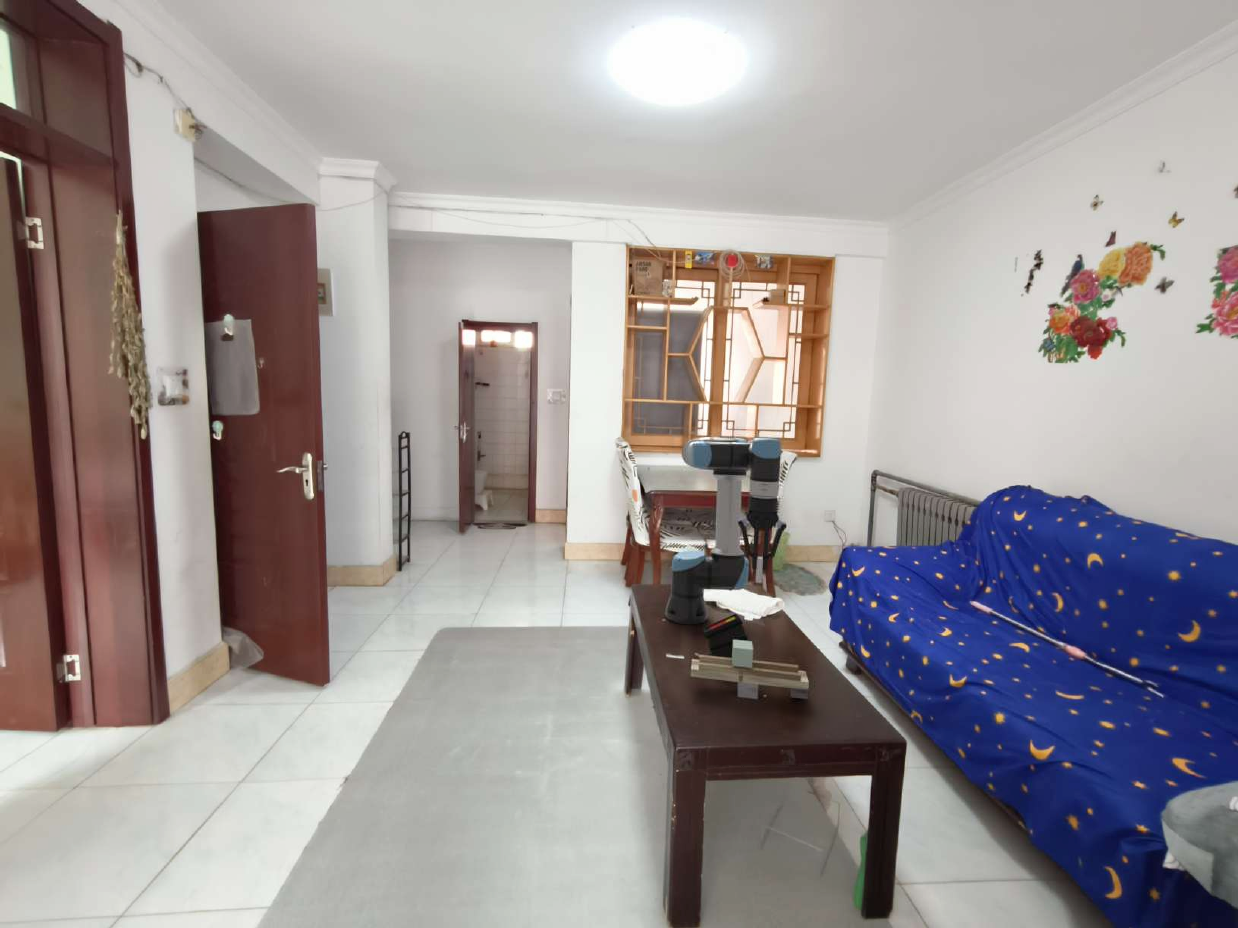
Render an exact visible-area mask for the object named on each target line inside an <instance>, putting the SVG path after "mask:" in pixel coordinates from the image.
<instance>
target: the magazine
mask: <svg viewBox="0 0 1238 928" xmlns="http://www.w3.org/2000/svg"><path fill="white" fill-rule="evenodd" d="M702 629H703V635H704V636H705V638H706V640H708V643H707V647H708V648H709V652H710V653H708V656H717V657H727V658H732V650H733V640H742V641H749V638H748V636H747V634H746V633H745V628H744V626H743V621H742V619H741V618H740V616H739V615H738V614H737V613H733V614H731V615H729V616H728V617H725V618H722V619H721V620H719V621H716V622H714V623H712V624H709V625H707V626H705V627H703V628H702Z"/></svg>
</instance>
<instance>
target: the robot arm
mask: <svg viewBox="0 0 1238 928" xmlns="http://www.w3.org/2000/svg"><path fill="white" fill-rule="evenodd" d="M681 458H682V460H683V462H684V463H685V464H686V465H688V466H689V467H692V468H695V469H697V470H703V471H704V470H705V471H706V470H707V471H712V475H713V477H714V478H715V479H716V483H717V484H716V513H715V515H716V517H715V546H714V547H713V548H712V549H711V550H710V556H707V554H706V553H705V552H704V551H701V550H693V549H692V550H685V551H680V552H678V553H676V554H675V555H674V556H673V558H672V562H671V582H670V583H671V586H670V589H671V590H670V595H669V599H668V601H667V604H666V606H665V614H664V615H665V617H666V619H668V621H671V622H674V623H677V624H680V625H681V624H682V625H699V624H702V623H705V622H706V621H707V620H708V614H709V611H708V608H707V604H706V601H705V597H704V594H705V593H704V592H705V590H716V591H718V590H719V591H720V590H722V591H729V592H730V591H740V590H743V589H744V588H745V587H746V585H747V583H748V578H749V574H750V573H749V572H750V566H749V565H750V561H749V559H748V558H747V557H746V556H749V557H751V558H752V559H751V560H752V564H751V568H752V570H754V571H756V572H755V583H757V584H763V571H765V572H766V571H767V569H768V567H767V566H768V559H770V558H771V559H773V558H775V556H776V552H777V549H778V547H779V543H780V541H781V537H782V534H783V532H784V531H785V529H786V528H787V522H785V521H782V520H781V519H780V517H779V514H778V505H779V504H778V503H779V498H778V496H779V491H780V490H779V487H780V473H781V472H780V470H781V458H782V442H781V440H780V439H778V438H773V437H772V438H769V437H756V438H755V437H754V438H753V440H752V441H749V442H748V440H747V439H745V438H742V437H741V438H739V437H715V436H714V437H710V436H708V437H707V436H703V437H697V438H694V439H690V440H688V441H687V442H686V443H685V444H684V445H683V446H682V449H681ZM747 472H750V476H749V477H750V478H749V491H748V494H750V495H749V497H748V509H747V510H748V511H747V513H746V514H745V515H746V516H745V517H743V518H741V517H742V514H741V513H742V485H743V482H742V481H743V480H744V479H745V478H746V477H747ZM748 523H749V524H750V526H751V527H752V529H753V545H752V550H751V546H750V545H751V544H750V540H749V535H748V531H747V525H748ZM775 525H776V528H777V529H776V531H775V534H774V538H773V540H772V543H771V547H770V550H769V537H770V530H772V529H773V528H774V527H775ZM760 531H763V540H762V541H763V542H762V556H758V555H759V554H758V553H759V537H760V536H759V535H760ZM741 533H742V534H741ZM741 535H742V538H743V543H744V549H745V553H744V551H743V550H742V549H741ZM745 555H746V556H745Z"/></svg>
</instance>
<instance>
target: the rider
mask: <svg viewBox="0 0 1238 928" xmlns="http://www.w3.org/2000/svg"><path fill="white" fill-rule="evenodd" d="M753 656H754V646H753V641H750V640H747V641H742V640H733V650H732V664H733V666H739V667H748V668H752V661H753V660H754V657H753Z"/></svg>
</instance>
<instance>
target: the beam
mask: <svg viewBox="0 0 1238 928" xmlns="http://www.w3.org/2000/svg"><path fill="white" fill-rule="evenodd" d="M698 657H699V659H695V658H692V659H691V667H690V677H692V678H701V679H710V680H717V681H727V682H735V683H736V686H737V687H736V688H737V698H743V699H744V698H745V699H754V700H758V698H759V685H761V686H763V685H764V686H769V687H771V686H772V687H777V688H778V687H779V688H786V689H787V688H788V691H789V693H790V695H789V696H790V698H796V699H804V700H805V699H806V700H808V691H809V687H810V682H809V679H808V675H807V672H806V671H805V670H799V665H798V664H790V663H783V662H772V661H761V660H754V659H753V661H752V668H748V667H739V666H733V664H732V658H727V657H717V656H709V654H708V655H706V654H699V656H698Z"/></svg>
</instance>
